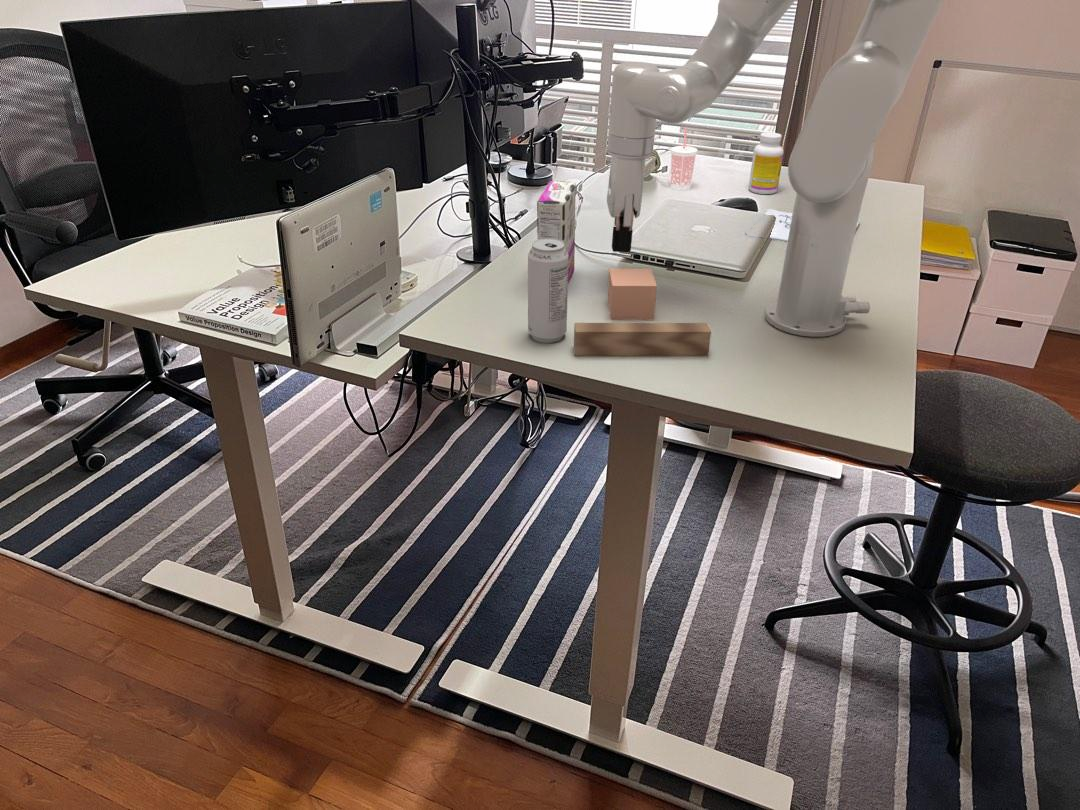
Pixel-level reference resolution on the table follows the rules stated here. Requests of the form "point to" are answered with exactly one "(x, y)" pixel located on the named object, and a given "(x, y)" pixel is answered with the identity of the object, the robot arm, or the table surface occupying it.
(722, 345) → the table surface
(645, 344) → the walnut plank
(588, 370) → the table surface
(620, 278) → the terracotta block
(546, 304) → the energy drink can
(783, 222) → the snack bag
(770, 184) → the supplement bottle
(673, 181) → the beverage cup
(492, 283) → the table surface
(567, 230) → the candy bar box
